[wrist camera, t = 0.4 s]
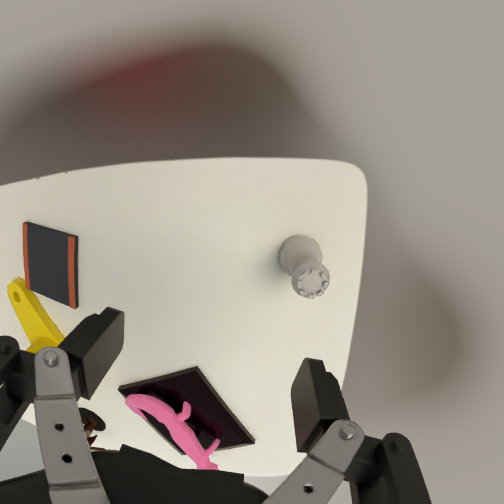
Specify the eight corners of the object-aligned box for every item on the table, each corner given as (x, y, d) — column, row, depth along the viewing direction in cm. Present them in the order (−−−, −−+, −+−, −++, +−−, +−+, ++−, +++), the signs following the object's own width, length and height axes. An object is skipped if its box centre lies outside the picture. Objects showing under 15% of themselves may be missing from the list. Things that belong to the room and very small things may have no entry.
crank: (88, 370, 36) (71, 394, 31) (60, 376, 38) (44, 396, 32) (28, 270, 32) (3, 285, 26) (5, 286, 33) (-17, 301, 27)
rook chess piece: (312, 278, 31) (328, 313, 23) (273, 269, 31) (278, 303, 23) (325, 240, 30) (347, 265, 22) (285, 229, 29) (294, 252, 22)
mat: (26, 221, 30) (22, 222, 29) (78, 236, 30) (74, 238, 29) (29, 286, 33) (26, 288, 32) (78, 306, 33) (75, 309, 32)
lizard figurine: (186, 455, 42) (180, 485, 35) (118, 385, 37) (101, 417, 30) (258, 443, 40) (258, 478, 33) (196, 365, 35) (185, 404, 28)
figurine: (88, 405, 39) (55, 464, 25) (114, 431, 41) (88, 489, 27) (70, 409, 40) (38, 461, 26) (94, 433, 42) (68, 485, 28)
